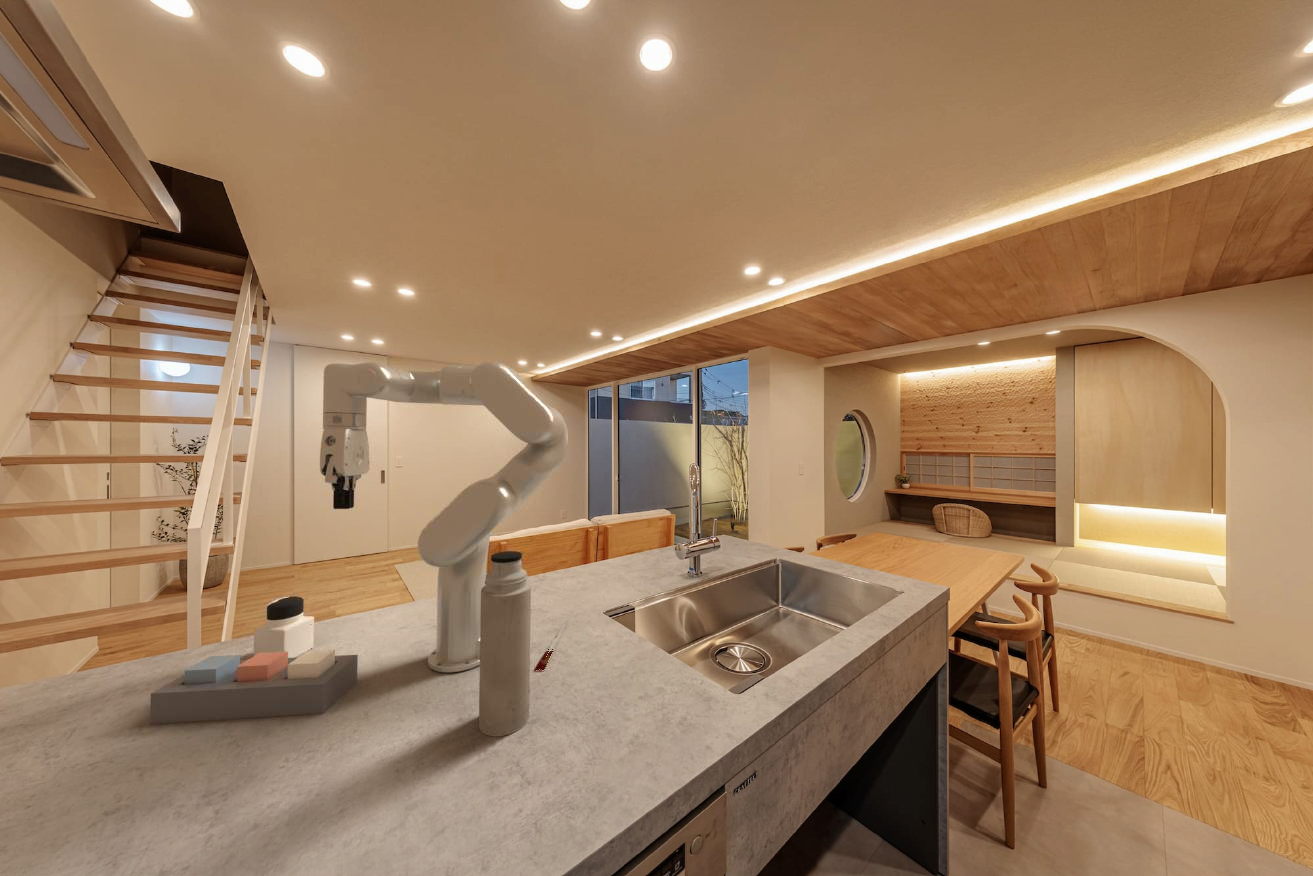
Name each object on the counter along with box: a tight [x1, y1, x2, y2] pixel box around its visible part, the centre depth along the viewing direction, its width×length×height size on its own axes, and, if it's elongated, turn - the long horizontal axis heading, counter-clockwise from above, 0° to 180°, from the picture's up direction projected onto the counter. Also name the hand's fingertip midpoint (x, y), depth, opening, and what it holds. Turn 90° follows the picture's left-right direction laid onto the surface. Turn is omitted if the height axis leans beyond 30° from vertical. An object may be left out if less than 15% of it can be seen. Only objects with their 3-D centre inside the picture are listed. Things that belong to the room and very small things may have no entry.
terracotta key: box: [237, 652, 288, 682], centre depth 76 cm, size 5×5×4 cm
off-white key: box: [288, 649, 336, 679], centre depth 77 cm, size 5×5×4 cm
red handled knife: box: [534, 648, 554, 671], centre depth 98 cm, size 2×24×1 cm, turn 179°
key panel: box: [149, 654, 359, 725], centre depth 76 cm, size 26×10×5 cm, turn 97°
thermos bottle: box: [478, 550, 532, 737], centre depth 71 cm, size 8×8×28 cm
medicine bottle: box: [253, 595, 315, 658], centre depth 92 cm, size 7×7×12 cm
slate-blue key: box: [184, 654, 241, 685], centre depth 75 cm, size 5×5×4 cm
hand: (343, 508), depth 90 cm, fingers closed
